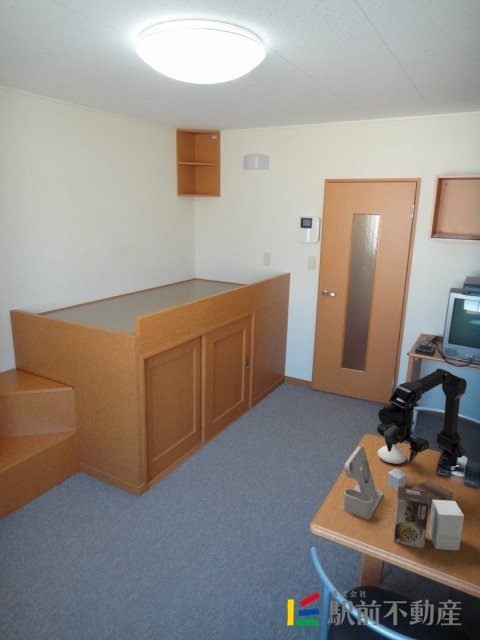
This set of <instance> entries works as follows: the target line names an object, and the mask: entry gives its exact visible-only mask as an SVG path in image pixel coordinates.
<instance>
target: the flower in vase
mask: <svg viewBox="0 0 480 640" xmlns="http://www.w3.org/2000/svg"><path fill="white" fill-rule="evenodd" d="M377 455H378V457H379V459H381V460H382V461H384V462H386V463H390V464H395V465H396V464H397V465H398V464H402V463H404V462H405V461H406V460H407V455H406V453H405V452H404V451H403V450H402V449H401V448H400V447H399V446H398V445H397V444H396V445H392V449H391V451H390V452H389V451H388V448H387V445H384V446H381V448H379V449H378V451H377Z"/></svg>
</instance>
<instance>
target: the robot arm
mask: <svg viewBox="0 0 480 640" xmlns="http://www.w3.org/2000/svg"><path fill="white" fill-rule="evenodd" d="M467 383H468V381H467V380H466V379H465V378H462V377H459V376H458V375H455V374H452V373H451V372H450V371H448V370H445V369H444V368H436V369H435V371H433V372H431V373H428V374H427V375H426V376H424V377H420V378H419V379H418V380H415V381H407V382H403V383H399V385H397V387H396V388H395V390H394V391H393V393H392V395H391V397H390V398H389V400H388V402H389V403H390V404H386V405H383V408H381V409H380V410H379V411H378V419H379V422H380V424H378V425H377V427H376V432H377V433H379V436H382V437H383V439H384V441H385V444H386V445H387V448H388V451H389V452H390V451H391V449H392V445H397V444H399V443H400V444H403V443H404V442H405V441H406V442H407V443H409V444H410V445H409V446H410V448H409V451H410V452H409V453H410V454H409V464H412V463H413V461H414V460H415V459H416V457H417V456H418V454H419V453H422V452H424V451H426V450H428V449H430V442H429V440H428V439H425V438H423V437H421V436H417V437H416V438H414V437H412V436H413V435H414V431H412V430H413V429H412V428H413V426H414V425H415V421H414V420H413V418H414V412H415V411H414V410H415V408H417V407H419V404H418V403H417V402H419V401H420V400H421V399H422V396H423V394H425V393H427V392H428V391H431V390H432V389H434V388H436V387H438V386H440V385H441V389H442V392H443V395H444V396H445V403H444V414H443V415H444V416H443V427H442V430H440V432H437V434H436V444H437V449H439V450H441V451H442V455H441V456H442V457H441V461H442V462H441V464H442V465H445V466H447V467H448V466H456V465H457V464H458V460H459V459H462V458H463V456H465V453H466V449H465V448H464V447H463V446H462V438H461V436H460V434H459V432H458V424H459V422H458V421H459V414H460V403H461V397H463V396H464V395H465V394H466V389H467V385H468V384H467ZM386 445H385V446H386ZM439 462H440V461H439ZM439 462H437V464H438V463H439Z"/></svg>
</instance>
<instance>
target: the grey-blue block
mask: <svg viewBox="0 0 480 640" xmlns="http://www.w3.org/2000/svg"><path fill="white" fill-rule="evenodd" d="M407 479H408V473H405V472H403V471H402V470H400V469H398V468H396V467H395V468H394V469H391V470H390V471H388V472H387V475H386V485H388V486H390V487H391V488H392V489H395V490H396V491H398V487H403V488H406V486H407V481H408V480H407Z"/></svg>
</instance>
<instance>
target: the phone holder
mask: <svg viewBox="0 0 480 640" xmlns="http://www.w3.org/2000/svg"><path fill="white" fill-rule="evenodd" d="M344 472H345V475H346V477H347V478H349V479H353V480H356V481H357V483H358V484H356V485H355V486H354V488H353V489H352V488H347V489H345V490H344V492H343V503H342V507H341V509H342V510H343V511H344V510H345V511H344V512H346V511H347V512H346V513H349V512H350V513H349V514H351V513H353V514H352V515H354V514H355V515H354V516H358V517H359V516H360V517H359V518H363V519H364V518H365V520H370V519H371V518H372V516H373V514H374V512H375V511H376V509H377V507H378V505H379V503H380V502H381V499H382V498H383V495H384V494H383V493H384V492H382V491H381V490H378V489H376V485H375V482H374V479H373V478H374V477H373V474H372V471H371V467H370V464H369V460H368V457H367V453H366V449H365V448H364V446H357V447H356V448H355V450H354V451H353V452H352V454H351V455H350V456H349V457H348V459H347V460H346V461H345V464H344Z"/></svg>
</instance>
